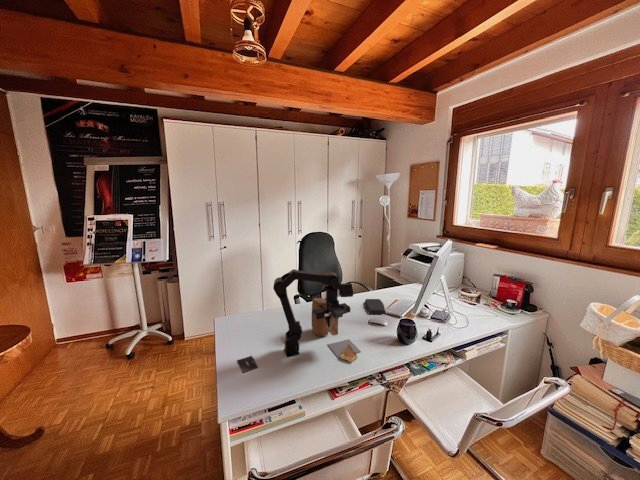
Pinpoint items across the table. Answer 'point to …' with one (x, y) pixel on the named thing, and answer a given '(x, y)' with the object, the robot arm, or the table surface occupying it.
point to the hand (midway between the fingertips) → (331, 326)
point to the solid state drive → (247, 364)
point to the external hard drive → (375, 307)
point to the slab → (333, 325)
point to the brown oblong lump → (319, 324)
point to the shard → (348, 354)
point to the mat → (342, 347)
